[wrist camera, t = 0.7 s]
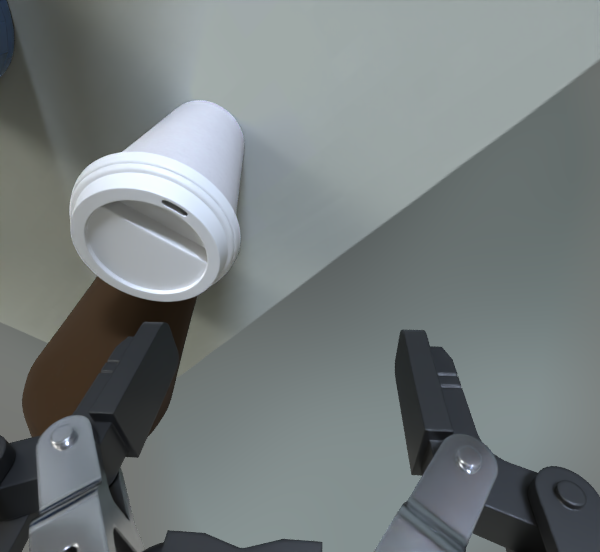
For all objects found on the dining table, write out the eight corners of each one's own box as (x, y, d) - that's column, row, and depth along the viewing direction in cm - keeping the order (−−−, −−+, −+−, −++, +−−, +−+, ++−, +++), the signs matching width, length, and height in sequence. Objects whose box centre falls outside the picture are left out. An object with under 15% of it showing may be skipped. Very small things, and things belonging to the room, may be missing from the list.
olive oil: (119, 209, 36) (-83, 494, 18) (221, 250, 39) (141, 527, 21) (104, 278, 42) (-54, 538, 24) (193, 308, 46) (113, 558, 27)
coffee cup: (284, 160, 32) (268, 277, 21) (200, 206, 35) (149, 328, 24) (214, 51, 26) (143, 133, 15) (123, 119, 30) (12, 224, 19)
